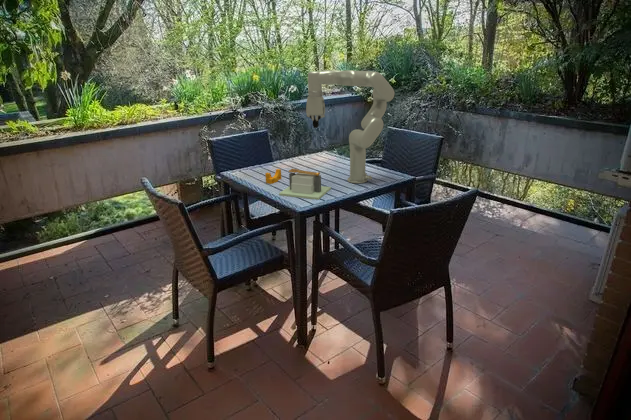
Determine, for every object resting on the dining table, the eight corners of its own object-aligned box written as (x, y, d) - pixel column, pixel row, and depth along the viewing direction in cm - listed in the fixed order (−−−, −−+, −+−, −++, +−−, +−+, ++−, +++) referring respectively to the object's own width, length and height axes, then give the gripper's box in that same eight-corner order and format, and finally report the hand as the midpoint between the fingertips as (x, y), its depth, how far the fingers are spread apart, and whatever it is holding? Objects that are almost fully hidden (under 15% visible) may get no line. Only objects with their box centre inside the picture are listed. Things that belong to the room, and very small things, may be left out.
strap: (320, 174, 238) (320, 171, 237) (317, 176, 233) (317, 174, 233) (292, 170, 244) (292, 167, 243) (288, 172, 239) (288, 170, 239)
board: (330, 189, 247) (330, 171, 243) (318, 199, 229) (318, 181, 226) (293, 185, 255) (293, 168, 252) (279, 195, 238) (278, 177, 234)
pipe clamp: (271, 184, 259) (270, 174, 256) (266, 183, 261) (265, 173, 259) (283, 179, 268) (283, 169, 265) (278, 178, 270) (277, 168, 268)
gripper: (330, 94, 235) (330, 127, 241) (305, 93, 240) (306, 125, 246) (325, 95, 228) (325, 129, 235) (300, 94, 233) (301, 128, 240)
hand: (315, 127), depth 240 cm, fingers closed
